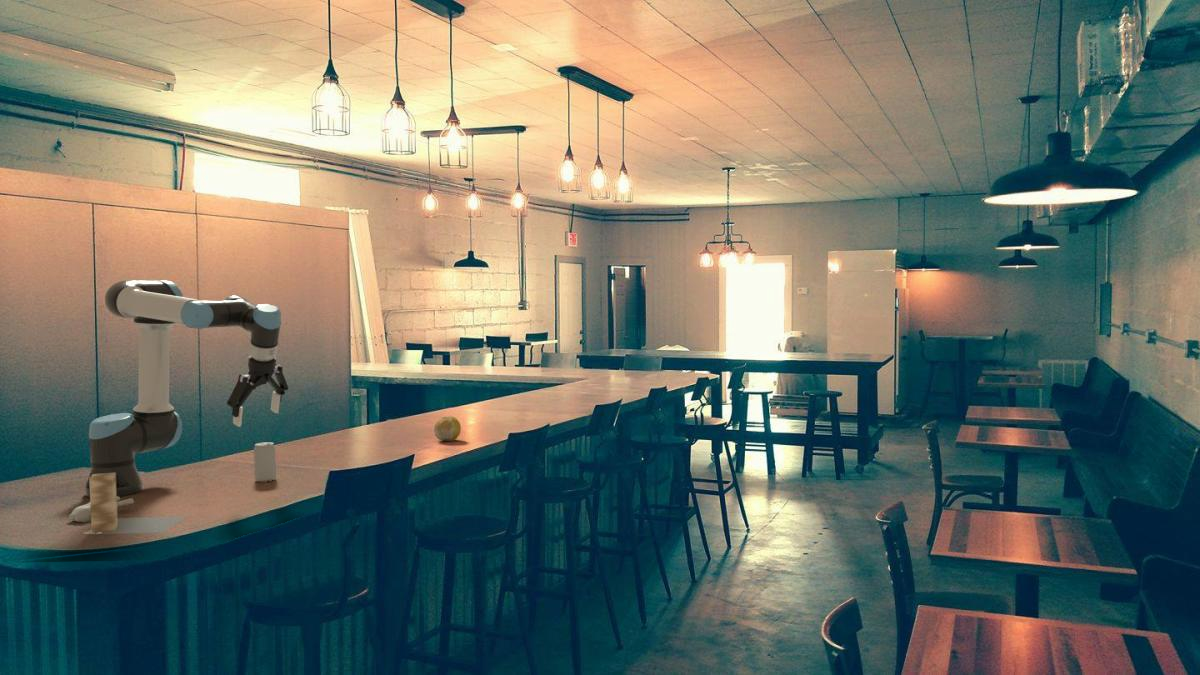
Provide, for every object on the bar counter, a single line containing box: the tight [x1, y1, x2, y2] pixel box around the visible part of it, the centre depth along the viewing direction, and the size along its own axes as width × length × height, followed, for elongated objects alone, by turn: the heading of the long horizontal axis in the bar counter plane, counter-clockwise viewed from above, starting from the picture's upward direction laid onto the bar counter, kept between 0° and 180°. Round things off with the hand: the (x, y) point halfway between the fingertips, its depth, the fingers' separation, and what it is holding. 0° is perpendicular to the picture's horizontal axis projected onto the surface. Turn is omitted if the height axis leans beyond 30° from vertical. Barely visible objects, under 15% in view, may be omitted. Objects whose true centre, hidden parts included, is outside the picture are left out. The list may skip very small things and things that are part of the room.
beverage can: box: [253, 441, 277, 483], centre depth 271 cm, size 6×6×12 cm
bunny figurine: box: [68, 496, 135, 523], centre depth 228 cm, size 10×5×15 cm
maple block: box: [89, 473, 118, 533], centre depth 214 cm, size 5×5×14 cm
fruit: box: [433, 415, 462, 442], centre depth 339 cm, size 10×11×10 cm
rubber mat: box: [100, 516, 189, 535], centre depth 218 cm, size 20×15×1 cm
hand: (256, 418), depth 255 cm, fingers open, 13 cm apart
